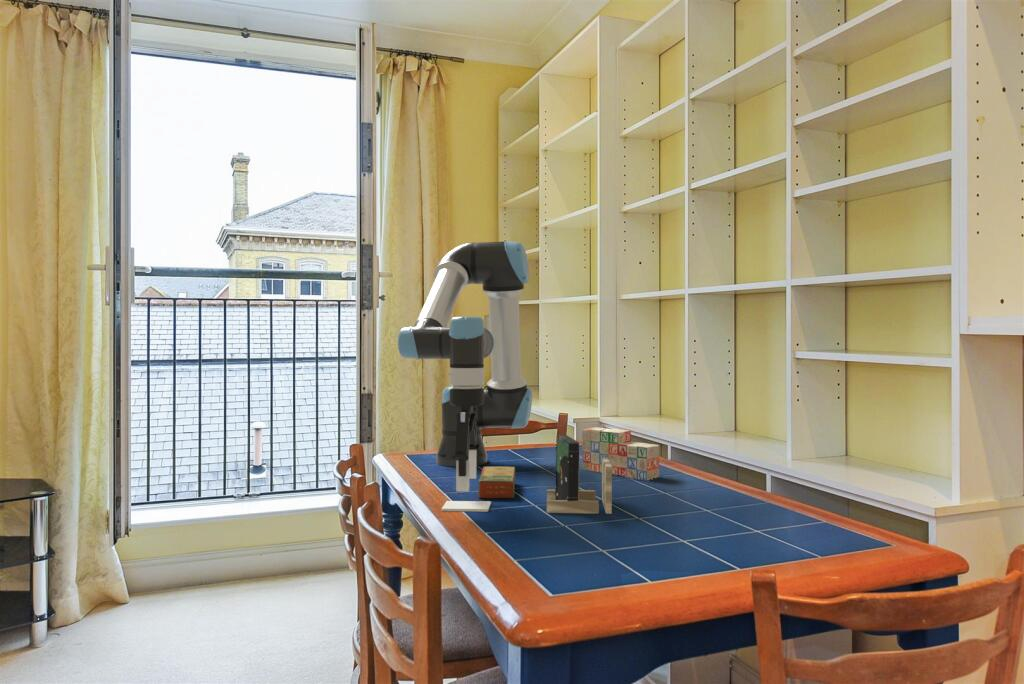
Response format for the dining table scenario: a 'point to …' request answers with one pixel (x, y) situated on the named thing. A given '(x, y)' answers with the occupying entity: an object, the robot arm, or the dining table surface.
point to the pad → (467, 506)
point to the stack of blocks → (619, 453)
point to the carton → (497, 482)
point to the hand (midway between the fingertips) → (466, 484)
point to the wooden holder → (585, 496)
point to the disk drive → (567, 468)
